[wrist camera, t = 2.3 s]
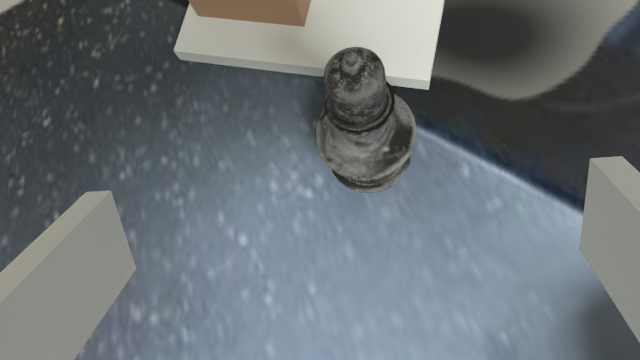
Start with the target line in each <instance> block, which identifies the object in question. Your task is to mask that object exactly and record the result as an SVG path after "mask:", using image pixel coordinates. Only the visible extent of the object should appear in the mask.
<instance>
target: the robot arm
mask: <svg viewBox="0 0 640 360" xmlns="http://www.w3.org/2000/svg"><path fill="white" fill-rule="evenodd" d="M580 250H581V252H582V253H583V255H584V256H585V258H586V260H587V261H588V263H589V264H590V266H591V267H592V269H593V271H594V272H595V274H596V275H597V277H598V278H599V280H600V282H601V283H602V285H603V286H604V288H605V289H606V291H607V293H608V294H609V296H610V297H611V299H612V300H613V302H614V304H615V305H616V307H617V308H618V310H619V311H620V313H621V315H622V316H623V318H624V319H625V321H626V322H627V324H628V326H629V327H630V329H631V330H632V332H633V333H634V335H635V337H636V338H637V340H638V341H639V343H640V173H639V172H638V171H637V170H636V169H635V168H634V167H633V166H632V165H631V164H630V163H629V162H628V161H627V160H625V159H624V158H623V157H622V156H619V157H604V158H590V164H589V172H588V181H587V190H586V198H585V207H584V215H583V224H582V232H581V241H580ZM135 270H136V266H135V263H134V260H133V257H132V254H131V251H130V248H129V245H128V242H127V239H126V236H125V233H124V230H123V227H122V224H121V221H120V218H119V215H118V211H117V208H116V205H115V202H114V199H113V196H112V193H111V191H96V192H86V193H85V194H84V195H82V196H81V197H80V198H79V199H78V200H77V201H76V202H75V203H74V204H73V205H72V206H71V207H70V208H69V209H68V210H67V211H65V212H64V213H63V214H62V215H61V216H60V217H59V218H58V219H57V220H56V221H55V222H54V223H53V224H52V225H51V226H49V227H48V228H47V229H46V230H45V231H44V232H43V233H42V234H41V235H40V236H39V237H38V238H37V239H36V240H35V241H34V242H32V243H31V244H30V245H29V246H28V247H27V248H26V249H25V250H24V251H23V252H22V253H21V254H20V255H19V256H18V257H16V258H15V259H14V260H13V261H12V262H11V263H10V264H9V265H8V266H7V267H6V268H5V269H4V270H3V271H2V272H1V273H0V360H74V359H75V358H76V356H77V355H78V353H79V352H80V350H81V349H82V347H83V346H84V344H85V343H86V342H87V340H88V339H89V337H90V336H91V334H92V333H93V331H94V330H95V328H96V327H97V325H98V324H99V322H100V321H101V320H102V318H103V317H104V315H105V314H106V312H107V311H108V309H109V308H110V306H111V305H112V303H113V302H114V301H115V299H116V298H117V296H118V295H119V293H120V292H121V290H122V289H123V287H124V286H125V284H126V283H127V282H128V280H129V279H130V277H131V276H132V274H133V273H134V271H135Z"/></svg>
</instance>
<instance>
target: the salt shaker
mask: <svg viewBox="0 0 640 360" xmlns="http://www.w3.org/2000/svg"><path fill="white" fill-rule="evenodd" d="M323 79H324V86H325V89H326V92H327V94H326V96H325V101H324V109H323V111H322V113H321V115H320V117H319V119H318V121H317V126H316V131H315V138H316V146H317V148H318V151H319V153H320V156H321V158H322V159H323V160H324V162H325V163H326V164H327V166H328V167H329V168H331V169H332V171H333V174H334V175H335V176H336V178H337V179H338V180H339V181H340V182H341V183H342V184H344V185H345V186H346V187H348V188H350V189H352V190H355V191H357V192H365V193H373V192H380V191H382V190H385V189H387V188H390V187H391V186H393V185H394V184H395V183H397V182H398V181H399V180H400V179H401V178H402V176H403V175H404V174H405V173H406V170H407V168H408V166H409V164H410V157H411V152H412V150H413V147H414V145H415V140H416V132H417V130H416V123H415V118H414V116H413V114H412V112H411V110H410V108H409V106H408V105H407V104H406V103H405V102H404V101H403V100H402V99H401V98H400V97H399V96H397V95H395V94H394V92H393V90H392V87H391V85H390V84H389V83H388V82H387V81H386V76H385V68H384V65H383V63H382V61H381V59H380V58H379V57H378V56H377V55H376V53H374V52H373V51H371V50H369V49H366V48H363V47H350V48H346V49H343V50H341V51H339V52H337V53H336V54H334V55H333V56H332V57H331V58H330V60H329V61H328V62H327V64H326V66H325V70H324V76H323Z"/></svg>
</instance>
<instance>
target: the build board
mask: <svg viewBox="0 0 640 360" xmlns="http://www.w3.org/2000/svg"><path fill="white" fill-rule="evenodd" d="M188 1H189V6H188V9H187V12H186V15H185V18H184V21H183V24H182V27H181V30H180V33H179V36H178V39H177V42H176V45H175V48H174V52H175V54H176V55H177V56H178V57H179V59H180V60H186V61H194V62H203V63H211V64H219V65H227V66H236V67H244V68H252V69H261V70H269V71H277V72H285V73H294V74H302V75H310V76H319V77H323V76H324V70H325V66H326V64H327V62H328V61H329V60H330V58H331V57H332V56H333V55H334V54H336V53H337V52H339V51H341V50H343V49H346V48H350V47H363V48H366V49H369V50H371V51H373V52H374V53H376V55H377V56H378V57H379V58H380V59H381V61H382V63H383V65H384V68H385V76H386V81H387V82H388V83H389V84H390V85H393V86H401V87H410V88H418V89H426V90H429V85H430V80H431V74H432V68H433V63H434V57H435V51H436V46H437V40H438V34H439V29H440V23H441V17H442V12H443V6H444V0H188Z"/></svg>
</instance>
